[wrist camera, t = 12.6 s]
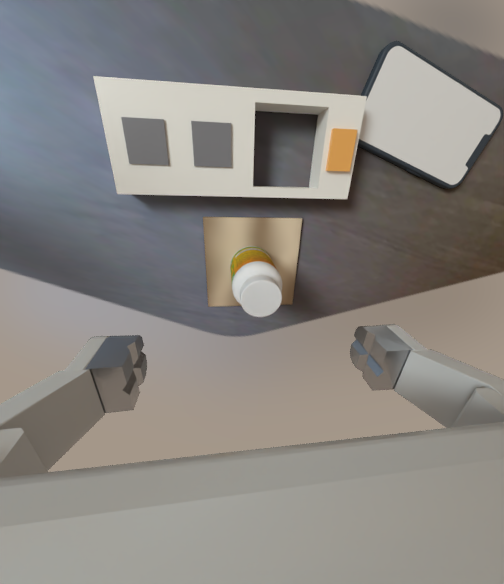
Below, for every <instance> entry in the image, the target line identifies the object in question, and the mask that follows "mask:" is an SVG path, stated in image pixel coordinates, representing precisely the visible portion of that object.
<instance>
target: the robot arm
mask: <svg viewBox="0 0 504 584" xmlns="http://www.w3.org/2000/svg"><path fill="white" fill-rule="evenodd" d="M354 336H355V338H356V340H355V342H353V343H352V345H351V349H350V356H351V360H352V362H353V364H354V365H355V367H356V368H357V369H359V370H361V371H362V372H363V378H364V379H365V381H366V382H367V384H368V385H369V386H370V388H371V389H372V390H389V389H394V391H395V392H397V393H398V394H400V395H401V396H403V397H404V398H405V399H407V400H408V401H410V402H411V403H413V404H414V405H415V406H417V407H418V408H419V409H421V410H422V411H424V412H425V413H427V414H428V415H429V416H431V417H432V418H434V419H435V420H436V421H438V422H439V423H441V424H442V425H444V426H445V427H446V428H444V429H435V430H426V431H417V432H408V433H399V434H390V435H381V436H372V437H363V438H354V439H346V440H336V441H327V442H319V443H309V444H300V445H292V446H282V447H273V448H264V449H255V450H246V451H237V452H228V453H219V454H209V455H201V456H192V457H183V458H173V459H164V460H156V461H147V462H137V463H128V464H120V465H112V466H111V465H110V466H102V467H92V468H83V469H75V470H66V471H56V472H48V470H49V469H50V468H51V467H52V466H53V465H54V464H55V463H56V462H57V461H58V460H59V459H60V458H61V457H62V456H63V455H64V454H65V453H66V452H67V451H68V450H69V449H70V448H71V447H72V446H73V445H74V444H75V443H76V442H77V441H78V440H79V439H80V438H81V437H83V436H84V435H85V434H86V432H88V431H89V430H90V429H91V428H92V427H93V426H94V425H95V424H96V423H97V422H98V421H99V420H100V419H101V418H102V417H103V416H104V415H105V413H111V412H119V411H128V410H134V407H135V404H136V402H137V399H138V396H139V393H140V392H139V387H138V386H139V385H141V384H142V383H143V382H144V379H145V376H146V370H147V360H146V355H145V354H144V353H142V352H141V350H142V348H143V346H144V345H143V340H142V337H141V336H139V335H135V336H100V337H99V336H98V337H92V338H90V339H89V340H88V342H87V343H86V344H85V345H84V347H83V348H82V349H81V350H80V352H79V353H78V354H77V356H76V357H75V358H74V359H73V361H72V362H71V363H70V364H69V366H68V367H67V368H66V369H65V371H58V372H57V373H55V374H53V375H51V376H49V377H48V378H46V379H44V380H42V381H41V382H39V383H37V384H35V385H33V386H32V387H30V388H28V389H26V390H24V391H23V392H21V393H19V394H17V395H16V396H14V397H12V398H10V399H9V400H7V401H5V402H3V403H1V404H0V584H504V379H502V378H499V377H497V376H495V375H492V374H490V373H487V372H485V371H482V370H480V369H478V368H475V367H473V366H470V365H468V364H466V363H463V362H461V361H458V360H456V359H453V358H451V357H448V356H446V355H444V354H441V353H439V352H437V351H434V350H431V349H426V348H425V347H424V346H423V345H421V344H420V343H419V342H418V341H417V340H415V339H414V338H413V337H412V336H411V335H409V334H408V333H407V332H406V331H404V330H403V329H402V328H401V327H400V326H398V325H395V324H389V325H380V326H360V327H358V328H357V329H356V331H355V334H354Z"/></svg>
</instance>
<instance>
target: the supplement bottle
mask: <svg viewBox="0 0 504 584" xmlns="http://www.w3.org/2000/svg"><path fill="white" fill-rule="evenodd" d="M230 270H231V281H232V291H233V295H234V297H235V299H236V300H237V302H238V303H239V304H241V305H242V307H243V309H244V310H245V311H246V312H247V313H248V314H250V315H252V316H255V317H265V316H268V315H270V314H272V313H274V312H275V311H276V310H277V309H278V308H279V306H280V304H281V301H282V293H281V292H282V279H281V276H280V274H279V272H278V270H277V268H276V267H275V265H274V263H273V261H272V260H271V258H270V256H269V255H268V254H267V252H266V251H265V250H263V249H262V248H259V247H256V246H247V247H244V248H241V249H240V250H238V251H237V252H236V253H235V254H234V256H233V258H232V260H231V265H230Z"/></svg>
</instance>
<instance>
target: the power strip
mask: <svg viewBox="0 0 504 584" xmlns="http://www.w3.org/2000/svg"><path fill="white" fill-rule="evenodd" d="M93 77H94V82H95V87H96V92H97V97H98V101H99V106H100V111H101V116H102V121H103V126H104V131H105V136H106V141H107V146H108V151H109V155H110V160H111V165H112V170H113V175H114V180H115V185H116V190H117V194H136V195H181V196H225V197H270V198H314V199H347V198H348V193H349V188H350V183H351V177H352V172H353V167H354V162H355V156H356V151H357V146H358V141H359V135H360V130H361V125H362V120H363V114H364V109H365V104H366V99H367V96H357V95H343V94H329V93H316V92H302V91H288V90H275V89H261V88H247V87H234V86H220V85H206V84H193V83H179V82H165V81H152V80H138V79H124V78H111V77H97V76H93ZM255 111H267V112H283V113H299V114H315V115H318V118H317V126H316V134H315V142H314V151H313V159H312V167H311V175H310V183H309V187H276V186H253V167H254V130H255Z"/></svg>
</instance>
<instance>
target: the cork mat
mask: <svg viewBox="0 0 504 584" xmlns="http://www.w3.org/2000/svg"><path fill="white" fill-rule="evenodd" d="M203 225H204V242H205V259H206V275H207V292H208V307H212V306H242V305H241V304H239V303H238V302H237V300H236V299H235V297H234V295H233V291H232V281H231V270H230V265H231V260H232V258H233V256H234V254H235V253H236V252H237V251H238V250H240V249H241V248H244V247H247V246H256V247H259V248H262V249H263V250H265V251H266V252H267V254H268V255H269V256H270V258H271V260H272V261H273V263H274V265H275V267H276V268H277V270H278V272H279V274H280V276H281V279H282V292H281V293H282V301H281V304H280V305H284V304H292V302H293V294H294V285H295V277H296V268H297V260H298V251H299V243H300V234H301V226H302V218H258V217H203Z"/></svg>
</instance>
